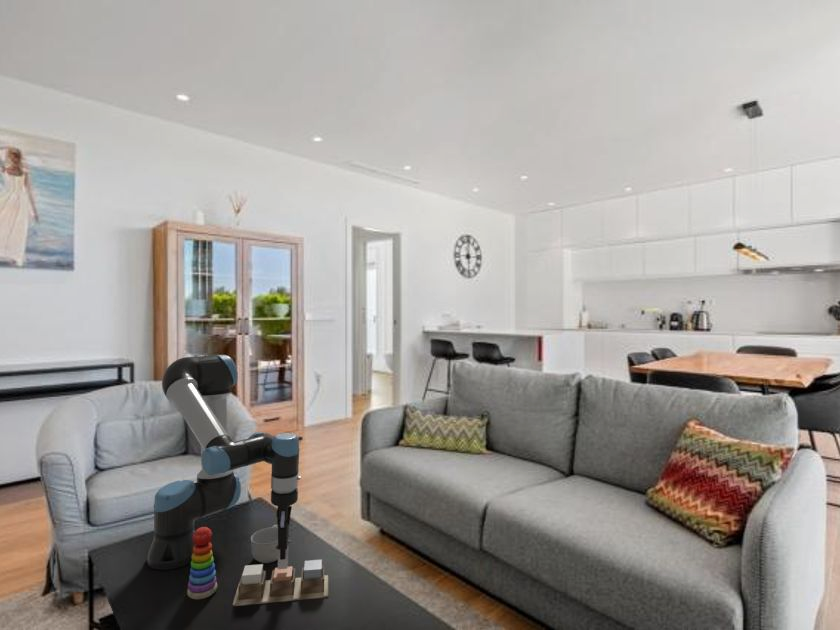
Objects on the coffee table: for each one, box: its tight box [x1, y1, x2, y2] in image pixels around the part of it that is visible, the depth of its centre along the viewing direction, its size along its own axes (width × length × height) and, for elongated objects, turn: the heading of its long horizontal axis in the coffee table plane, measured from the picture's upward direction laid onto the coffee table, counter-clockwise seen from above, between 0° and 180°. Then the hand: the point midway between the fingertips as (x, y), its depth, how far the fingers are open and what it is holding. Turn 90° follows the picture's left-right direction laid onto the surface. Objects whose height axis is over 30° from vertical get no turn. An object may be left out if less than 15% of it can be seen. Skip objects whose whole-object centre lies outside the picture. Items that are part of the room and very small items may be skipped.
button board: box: [232, 565, 329, 607], centre depth 138 cm, size 26×10×4 cm, turn 101°
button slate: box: [303, 559, 323, 579], centre depth 140 cm, size 5×5×4 cm
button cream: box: [241, 563, 264, 585], centre depth 136 cm, size 5×5×4 cm
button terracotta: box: [273, 565, 294, 582], centre depth 138 cm, size 5×5×4 cm
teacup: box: [250, 524, 278, 564], centre depth 156 cm, size 14×11×8 cm
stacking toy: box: [186, 526, 218, 600], centre depth 136 cm, size 8×8×19 cm
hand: (282, 567), depth 138 cm, fingers closed
